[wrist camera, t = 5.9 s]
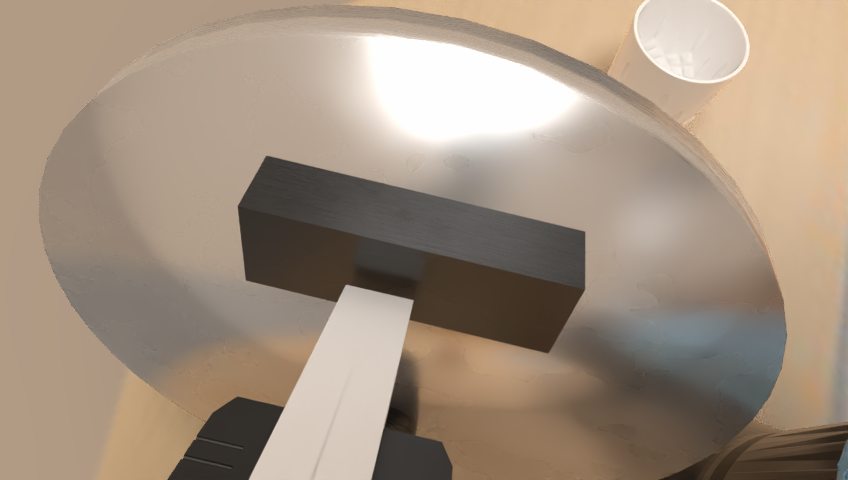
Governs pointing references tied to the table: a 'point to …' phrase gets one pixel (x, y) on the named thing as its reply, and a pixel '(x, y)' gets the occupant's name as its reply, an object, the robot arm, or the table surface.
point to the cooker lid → (420, 238)
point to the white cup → (681, 54)
